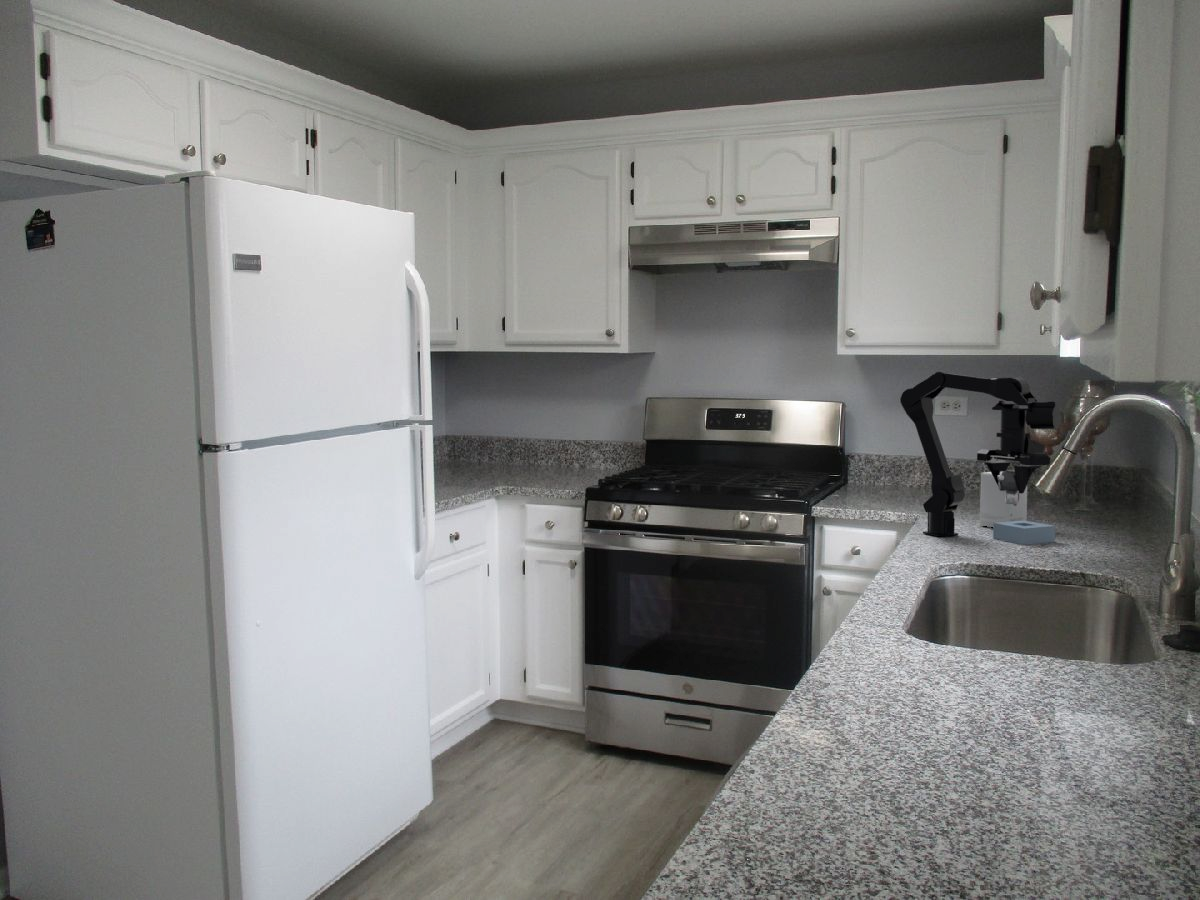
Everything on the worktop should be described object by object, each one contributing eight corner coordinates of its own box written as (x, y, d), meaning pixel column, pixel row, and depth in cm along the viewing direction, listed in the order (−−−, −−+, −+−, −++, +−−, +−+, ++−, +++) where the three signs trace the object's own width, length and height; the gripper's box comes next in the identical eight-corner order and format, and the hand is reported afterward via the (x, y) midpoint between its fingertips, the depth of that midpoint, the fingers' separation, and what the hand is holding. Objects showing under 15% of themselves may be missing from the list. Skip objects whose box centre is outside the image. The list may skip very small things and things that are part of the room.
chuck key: (1007, 505, 230) (1008, 472, 230) (989, 502, 236) (990, 470, 235) (1033, 504, 233) (1034, 471, 232) (1015, 501, 238) (1015, 469, 238)
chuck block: (993, 538, 241) (993, 522, 241) (1023, 535, 245) (1023, 520, 244) (1023, 544, 232) (1024, 528, 231) (1054, 541, 235) (1055, 525, 235)
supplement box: (1009, 530, 254) (1010, 474, 253) (978, 526, 261) (979, 472, 260) (1027, 527, 259) (1028, 472, 258) (997, 523, 267) (998, 470, 265)
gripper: (1069, 429, 227) (1067, 494, 228) (1011, 426, 245) (1009, 486, 246) (1032, 430, 223) (1030, 496, 224) (976, 427, 241) (974, 488, 242)
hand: (1011, 492), depth 234 cm, fingers closed on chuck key, 6 cm apart
